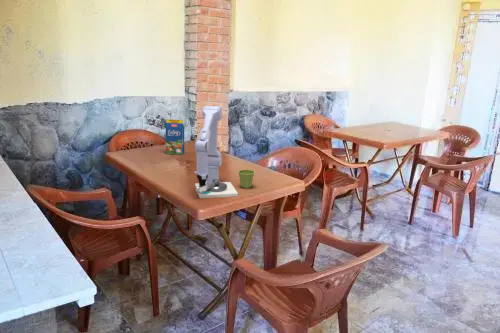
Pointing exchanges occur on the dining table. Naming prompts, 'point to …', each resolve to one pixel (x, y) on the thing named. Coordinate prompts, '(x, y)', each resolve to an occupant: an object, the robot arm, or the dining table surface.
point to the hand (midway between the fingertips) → (202, 188)
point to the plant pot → (246, 178)
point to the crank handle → (212, 186)
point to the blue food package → (174, 137)
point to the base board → (226, 193)
